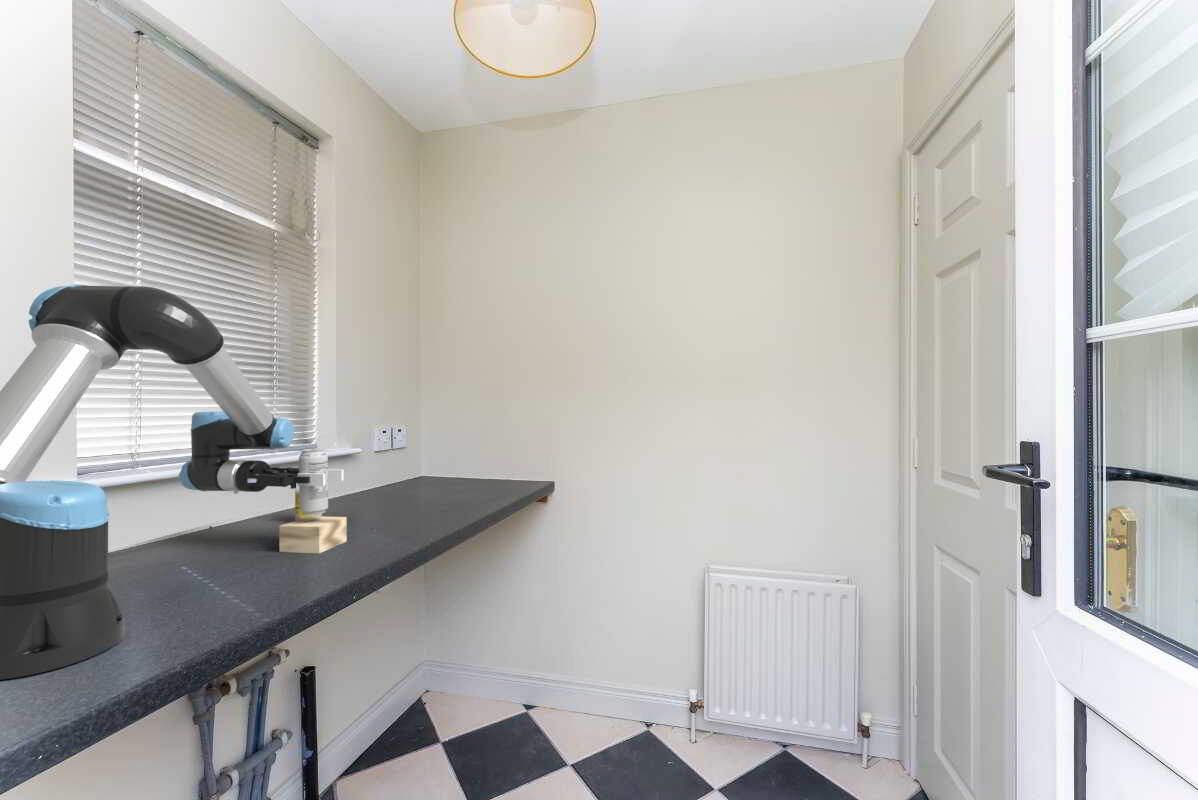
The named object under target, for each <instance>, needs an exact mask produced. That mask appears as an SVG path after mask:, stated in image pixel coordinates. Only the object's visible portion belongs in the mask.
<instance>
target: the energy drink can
mask: <svg viewBox="0 0 1198 800" xmlns="http://www.w3.org/2000/svg"><path fill="white" fill-rule="evenodd" d="M328 457H329V456H328V454H327V453H326V451H325V448H308V449H307V448H306V449H302V450H301V454H300V456H298V468H299V473H320V474H325V486H306V485H298V486H299V510H300V511H301V512H302V514H303V515H317V514H322V515H323V514H325V513H326V512H327V510H328V509H329V481H328V469H329V463H328V460H329V459H328Z"/></svg>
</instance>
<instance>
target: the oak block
mask: <svg viewBox="0 0 1198 800" xmlns="http://www.w3.org/2000/svg"><path fill="white" fill-rule="evenodd" d="M347 521H348V520H347V516H324V515H322V516H308V517H305V518H302V519H299V520H296V519H295V520H293V521H290V522H287V523H284V524H281V525H279V526H278V527H279V528H278V531H279V533H278V535H279V536H278V537H279V540H278V541H279V542H278V544H279V553H296V554H299V553H300V554H321V553H323V552H325V551H329V550H330V549H333V548H336V547H337V546H340V545H342V544H344V543H346V542H347V540H348V534H347V533H348V530H347V529H348V527H347V526H348V524H347Z"/></svg>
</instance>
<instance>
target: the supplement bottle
mask: <svg viewBox="0 0 1198 800" xmlns="http://www.w3.org/2000/svg"><path fill="white" fill-rule="evenodd" d="M294 493H295V494H294V496H295V497H294V506H295V507H294V508H295V509H294V510H295V514H294V515H295V516H294V517H295V518H294V519H295V521H296V520H299V519H302V518H305V517H308V516H323V513H322V514H317V515H303V514H302V512H301V511H300V510H299V485H297V486H296V488H295V489H294Z"/></svg>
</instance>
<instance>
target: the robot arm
mask: <svg viewBox="0 0 1198 800" xmlns="http://www.w3.org/2000/svg"><path fill="white" fill-rule="evenodd" d="M28 315H30V316H31V319H28V326H29V329H30V331H31V334H30V335H31V340H32V341H33V343H34V344H35V347H34V348H33V349H32V350H31V352H30V353H29V354H28V356H27V357H26V358H25V359H24V360H23V362H22V363H21V364H20V366H19V367H18V368H17V370H16V371H15V372H14V373H13V374H12V376H10V378H9V380H8V381H7V382H6V383H5V384H4V385H3V387H2V389H1V390H0V680H8V679H16V678H21V677H22V678H23V677H27V676H28V677H29V676H31V675H37V674H41V673H45V672H49V671H52V670H56V669H60V668H64V667H68V666H69V665H70V666H71V665H72V664H76V663H79V662H81V661H85V660H87V659H90V658H92V657H95V656H97V655H100V654H101V653H103V652H105V651H107V650H109V649H111V648H113V647H114V646H116V645H117V644H119V643H120V642H121V641H122V640H123V639H124V637H126V636H125V635H126V621H125V617H124V615H123V614H122V612H121V609H120V607H119V605H118V603H117V601H116V599H115V597H114V594H113V593H112V591H111V588H110V586H109V520H110V511H109V510H108V501H107V494H106V492H105V491H104V490H103V488H101V487H100V486H98V485H96V484H92V483H87V482H82V481H72V480H27V479H28V478H29V476H30V475H31V473H32V472H33V470H34V469H35V467H36V466H37V464H38V462H39V461H40V460H41V458H42V457H43V456H44V454H45V452H46V451H47V449H48V448H49V446H50V445H51V443H52V442H53V440H54V439H55V437H56V436H57V434H58V433H59V431H60V430H61V429H62V426H63V425H64V424H65V422H66V421H67V420H68V418H69V416H70V415H71V414H72V412H73V410H75V408H76V406H77V404H78V403H79V401H80V400H81V398H82V397H83V396H84V394H85V392H86V391H87V390H88V388H89V387H90V385H91V383H92V382H93V380H94V379H95V378H96V376H97V375H98V373H99V372H100V371H103V370H104V371H105V370H110V369H112V368H113V367H115V366H116V365H117V364H118V363H119V361H120V359H121V358H122V357H123V355H124V353H125V352H126V351H128V350H129V351H130V350H133V351H134V350H153V351H158V352H161V353H163V354H166V356H168V358H170V360H171V361H172V362H173V363H175V364H177V365H180V366H184V367H185V368H186V369H187V371H188V372H189V373H190V374H191V375H192V376H193V377H194V379H195V380H196V381H197V382H198V383H199V384H200V385H201V387H202V388H203V389H204V390H205V391H206V392H207V394H208V395H209V397H211V398H212V400H213V401H214V402H215V403H216V405H218V407H220V409H221V411H216V410H215V411H197V412H195V413H193V414H192V415H191V424H190V425H191V427H190V435H191V436H190V437H191V439H190V440H191V442H190V443H191V444H190V445H191V457H190V460H188V461H186V462H185V463H184V464H183V465H182V466H181V470H180V471H179V473H178V479H179V482H180V484H181V486H183V487H184V488H185V489H188V490H192V491H193V490H194V491H199V492H233V494H235V495H237V494H238V493H239V492H247V493H250V492H251V493H254V492H255V493H259V492H261V491H264V490H265V489H266V488H267V487H276V488H277V487H278V488H279V487H281V488H282V487H283V488H286V487H288V486H290V489H294V490H296V488H297V486H299V485H306V486H325V474H320V473H299V467H291V466H290V467H279V466H277V467H276V466H274V467H273V466H272V467H270V465H269V464H268V463H267V462H266V461H265V460H255V459H254V460H247V459H230V455H231V454H230V451H231V450H280V449H286V448H288V447H290V446H291V444H292V442H293V440H294V436H295V427H294V424H293V423H292V421H291V420H290V419H289V418H288V419H287V418H281V417H278V418H276V417H275V416H274V415H273V413H272V412H271V411H270V410H269V409H268V407H267V405H266V404H265V402H264V401H263V400H262V399H261V397H260V395H259V394H258V392H256V390H255V389H254V388H253V386H252V384H251V383H250V382H249V380H248V379H247V377H246V376H245V375H244V373H243V372H242V371H241V369H240V368H239V367H238V366H237V364H236V362H235V361H234V360H233V358H232V357H231V356H230V354H229V353H228V351H227V350H226V348H225V338H224V336H223V334H222V333H221V332H220V331H219V329H218V328H217V326H216V325H215V324H214V323H213V322H212V321H211V320H210V319H209V318H208V317H207V316H206V315H205V314H204V313H202V311H200V310H199V309H198V308H196V307H195V306H193V305H192V304H191V303H190V302H187V300H184V299H183V298H181V297H179V296H177V295H176V294H173V293H171V292H169V291H167V290H163V289H160V288H156V287H152V286H144V285H143V286H138V285H137V286H126V285H125V286H123V285H122V286H121V285H116V286H115V285H89V284H72V285H70V284H69V285H64V286H63V285H62V286H61V285H60V286H55V287H51V288H49V289H47V290H44V291H43V292H41V293H39V295H37V297H36V298H35V299H34V300H33V301H32V303H31V305H30V307H29V311H28ZM344 472H345V471H344V469H340V468H339V469H336V468H333V469H332V468H328V482H344V476H345V475H344V474H345V473H344Z"/></svg>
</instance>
